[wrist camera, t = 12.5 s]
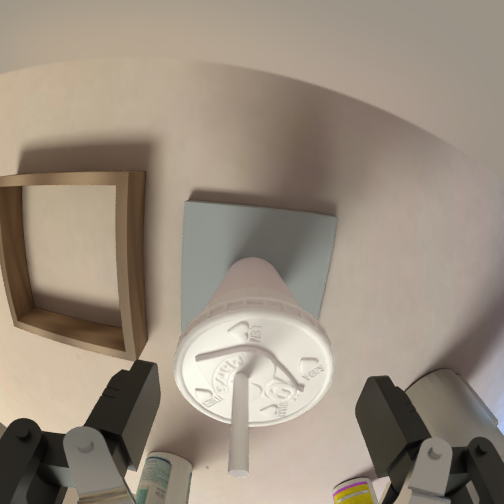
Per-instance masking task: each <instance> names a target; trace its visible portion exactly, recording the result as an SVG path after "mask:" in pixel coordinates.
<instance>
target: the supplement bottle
mask: <svg viewBox="0 0 504 504" xmlns="http://www.w3.org/2000/svg"><path fill="white" fill-rule="evenodd" d="M332 493H333V498H334V503H335V504H378V500H377V497H376V494H375V491H374V488H373V485H372V482H371V480H370V479H369V478H356V479H352V480H349V481H346V482H344V483H342V484H340V485H338V486H337V487H335V488H334V490H333V492H332Z"/></svg>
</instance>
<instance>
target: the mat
mask: <svg viewBox="0 0 504 504" xmlns="http://www.w3.org/2000/svg"><path fill="white" fill-rule="evenodd" d="M337 219H338V218H337V217H335V216H333V215H326V214H319V213H311V212H303V211H295V210H287V209H278V208H269V207H260V206H251V205H241V204H230V203H219V202H208V201H195V200H187V201H185V206H184V223H183V244H182V278H181V334H182V333H183V331H184V330H185V328H186V327H187V325H188V324H189V322H190V321H191V320H192V319H194V318H195V317H196V316H197V315H199V314H200V313H201V312H202V311H203V310H205V308H206V307H207V305H208V303H209V302H210V300H211V298H212V297H213V295H214V293H215V292H216V290H217V288H218V287H219V285H220V283H221V282H222V280H223V278H224V277H225V275H226V273H227V272H228V270H229V268H230V267H231V266H232V265H233V264H234V263H235V262H237V261H239V260H241V259H243V258H247V257H257V258H261V259H264V260H266V261H268V262H269V263H270V264H272V265H273V267H274V268H275V269H276V271H277V272H278V274H279V275H280V277H281V278H282V280H283V281H284V283H285V284H286V286H287V287H288V289H289V290H290V292H291V293H292V295H293V296H294V298H295V299H296V301H297V302H298V304H299V305H300V307H301V308H302V309H304V310H306V311H307V312H309V313H311V314H312V315H313V316H314V317H315V318H316V319H317V320H318V315H319V311H320V307H321V302H322V298H323V293H324V289H325V284H326V279H327V274H328V269H329V264H330V259H331V253H332V248H333V242H334V237H335V231H336V225H337Z"/></svg>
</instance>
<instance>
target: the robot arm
mask: <svg viewBox="0 0 504 504" xmlns="http://www.w3.org/2000/svg"><path fill="white" fill-rule="evenodd" d="M160 397H161V392H160V384H159V375H158V367H157V364H156V363H154V362H148V361H143V360H138V359H137V360H136V361H135V362H134V364H133V366H132V367H131V369H130V371H127V370H123V369H122V370H121V371H119V372H118V373H117V374H115V375H114V376H112V378H111V380H110V381H109V383H108V385H107V388H105V390H104V391H103V393H102V396H100V398H99V400H98V402H97V403H96V405H95V407H94V408H93V410H92V412H91V414H90V415H89V417H88V419H87V421H86V423H85V424H84V425H83V426H81V427H76V428H73V429H71V430H70V431H69V432H67V434H60V433H52V432H45V431H41V429H40V427H39V426H38V424H37V423H36V422H34V421H33V420H31V419H27V418H20V419H17V420H15V421H13V422H12V423H11V424H10V425H9V426H8V428H7V429H6V431H5V433H4V434H3V436H2V437H1V439H0V504H62V503H63V500H64V497H65V494H66V492H67V489H68V487H72V488H76V490H77V493H78V496H79V501H78V502H77V503H78V504H137V502H136V500H135V498H134V497H133V495H132V493H131V491H130V489H129V487H128V485H127V483H126V481H125V479H124V477H125V474H126V472H127V469H129V470H132V471H136V472H137V469H138V466H139V463H140V460H141V457H142V454H143V451H144V448H145V445H146V442H147V439H148V436H149V433H150V430H151V427H152V425H153V422H154V419H155V416H156V413H157V410H158V407H159V404H160ZM355 414H356V418H357V421H358V424H359V426H360V429H361V432H362V435H363V437H364V440H365V443H366V445H367V448H368V451H369V454H370V457H371V459H372V462H373V465H374V468H375V471H376V474H377V477H378V478H382V477H386V476H389V477H390V481H389V482H388V484H387V486H386V488H385V490H384V492H383V494H382V497H381V499H380V501H379V503H378V504H504V435H503V434H502V433H501V431H500V430H499V428H498V427H497V425H498V420H497V419H496V417H495V416H494V415H493V413H492V412H491V411H490V410H489V408H488V407H487V406H486V404H485V403H484V402H483V401H482V399H481V398H480V397H479V396H478V395H477V393H476V392H475V391H474V390H473V388H472V387H471V386H470V385H469V384H468V382H467V381H466V380H465V379H464V378H463V377H462V375H461V374H460V375H456V374H455V373H454V371H452V370H450V369H440V370H437V371H434V372H432V373H430V374H428V375H426V376H425V377H423V378H421V379H420V380H418V381H417V382H416V383H415V384H413V385H412V386H411V387H410V388H409V389H408V390H407V391H406V392H404V391H403V390H402V389H400V388H399V387H398V386H397V387H395V386H394V384H393V382H392V381H391V379H390V377H389V376H387V375H385V376H372V377H369V378H368V379H367V381H366V383H365V386H364V388H363V390H362V392H361V395H360V397H359V399H358V401H357V404H356V408H355Z"/></svg>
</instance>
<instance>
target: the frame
mask: <svg viewBox="0 0 504 504" xmlns="http://www.w3.org/2000/svg"><path fill="white" fill-rule="evenodd" d="M145 175H146V171H68V172H45V173H29V174H16V175H8V176H1V177H0V264H1V270H2V276H3V281H4V286H5V291H6V295H7V300H8V304H9V308H10V312H11V315H12V319H13V323H14V326H15V327H17V328H20V329H23V330H25V331H28V332H31V333H34V334H36V335H39V336H42V337H45V338H48V339H51V340H54V341H57V342H61V343H64V344H67V345H70V346H74V347H77V348H81V349H85V350H88V351H92V352H96V353H100V354H104V355H108V356H112V357H116V358H121V359H125V360H130V361H136V360H137V359H138V358H139V356H140V355H141V353H142V351H143V349H144V347H145V345H146V343H147V341H148V338H147V327H146V314H145V297H144V272H143V217H144V192H145ZM29 185H116V262H117V279H118V292H119V303H120V312H121V321H122V328H117V327H112V326H108V325H103V324H98V323H94V322H89V321H85V320H81V319H77V318H73V317H69V316H65V315H61V314H57V313H53V312H50V311H46V310H42V309H39V308H36V307H34V302H33V298H32V293H31V288H30V282H29V276H28V270H27V263H26V255H25V247H24V236H23V223H22V192H21V190H22V186H29Z"/></svg>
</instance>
